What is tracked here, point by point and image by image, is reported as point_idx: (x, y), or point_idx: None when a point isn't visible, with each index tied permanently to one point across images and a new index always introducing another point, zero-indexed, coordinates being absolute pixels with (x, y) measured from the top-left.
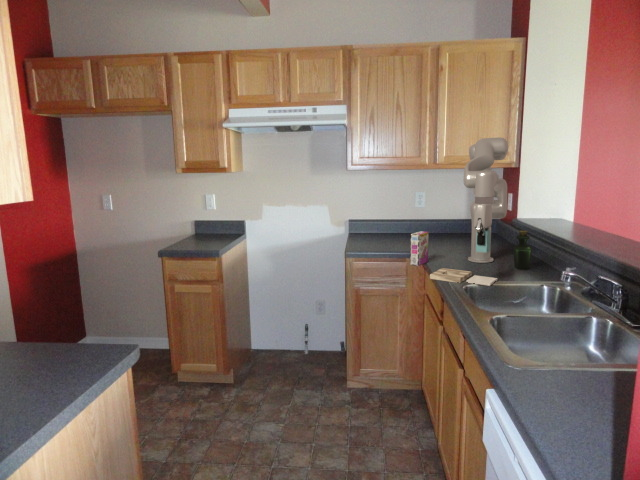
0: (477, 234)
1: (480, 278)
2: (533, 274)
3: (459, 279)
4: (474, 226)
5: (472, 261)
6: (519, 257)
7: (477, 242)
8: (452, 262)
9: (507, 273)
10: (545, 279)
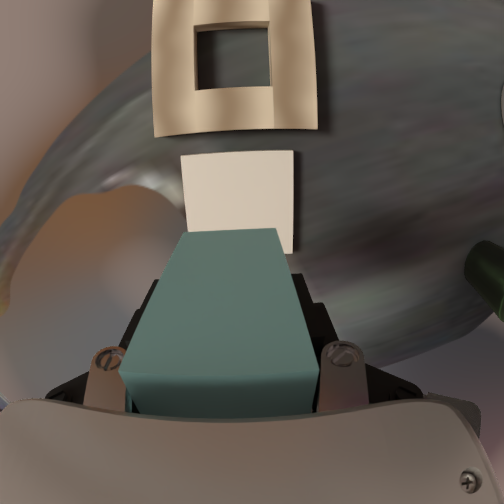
0: (97, 359)
1: (248, 195)
2: (417, 313)
3: (156, 133)
4: (5, 418)
5: (502, 92)
6: (488, 281)
7: (152, 291)
8: (468, 22)
9: (411, 245)
10: (368, 353)
